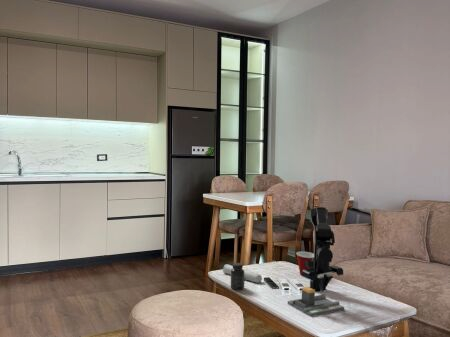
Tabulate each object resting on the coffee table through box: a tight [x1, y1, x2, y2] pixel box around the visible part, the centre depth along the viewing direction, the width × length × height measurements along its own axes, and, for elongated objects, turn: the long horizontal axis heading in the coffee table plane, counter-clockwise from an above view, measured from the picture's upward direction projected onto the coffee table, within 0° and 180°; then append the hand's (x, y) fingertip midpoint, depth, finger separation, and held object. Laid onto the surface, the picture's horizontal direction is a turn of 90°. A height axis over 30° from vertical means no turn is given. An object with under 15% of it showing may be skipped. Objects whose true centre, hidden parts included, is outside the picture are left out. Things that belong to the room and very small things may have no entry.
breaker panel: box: [287, 294, 345, 318], centre depth 179 cm, size 18×16×3 cm
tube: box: [222, 264, 263, 284], centre depth 219 cm, size 5×5×25 cm
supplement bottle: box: [230, 262, 245, 291], centre depth 202 cm, size 7×7×12 cm
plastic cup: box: [295, 251, 314, 277], centre depth 226 cm, size 11×11×12 cm
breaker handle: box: [301, 286, 316, 307], centre depth 177 cm, size 3×5×7 cm, turn 27°
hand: (322, 291), depth 180 cm, fingers closed
